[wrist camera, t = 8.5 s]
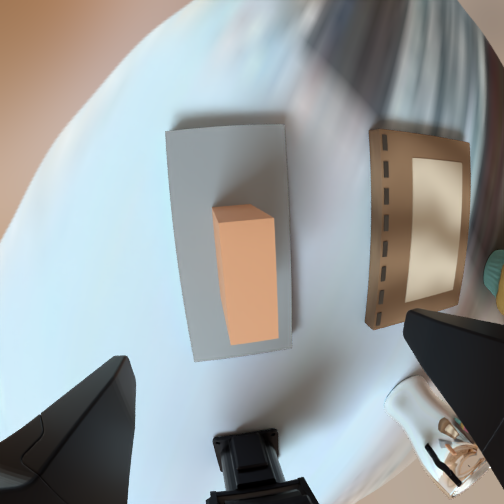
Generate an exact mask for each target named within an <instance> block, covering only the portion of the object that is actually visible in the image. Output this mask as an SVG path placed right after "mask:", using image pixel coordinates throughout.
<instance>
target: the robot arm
mask: <svg viewBox="0 0 504 504" xmlns="http://www.w3.org/2000/svg"><path fill="white" fill-rule="evenodd" d="M403 336H404V338H405V340H406V342H407V343H408V345H409V347H410V348H411V350H412V351H413V353H414V355H415V356H416V358H417V360H418V361H419V363H420V365H421V366H422V368H423V369H424V371H425V372H426V374H427V375H428V376H429V378H430V379H431V380H432V382H433V383H434V384H435V386H436V387H437V389H438V390H439V391H440V393H441V394H442V395H443V397H444V398H445V400H446V401H447V402H448V404H449V405H450V407H451V408H452V410H453V411H454V412H455V414H456V415H457V417H458V418H459V420H460V421H461V423H462V424H463V425H464V427H465V428H466V430H467V431H468V433H469V434H470V436H471V437H472V439H473V440H474V442H475V443H476V445H477V446H478V448H479V450H480V451H481V452H482V455H483V456H484V458H485V459H486V461H487V463H488V464H489V466H490V467H491V469H492V471H493V472H494V474H495V476H496V477H497V479H498V480H499V482H500V484H501V485H502V487H503V489H504V325H501V324H497V323H491V322H486V321H481V320H476V319H471V318H465V317H460V316H455V315H450V314H445V313H440V312H435V311H430V310H425V309H421V308H415V309H411V310H409V311H408V312H407V313H406V317H405V323H404V329H403ZM135 401H136V380H135V376H134V373H133V370H132V367H131V364H130V361H129V358H128V357H127V356H125V355H123V356H113V357H112V358H111V359H109V360H108V361H107V362H106V363H104V364H103V365H102V366H100V367H99V368H98V369H97V370H95V371H94V372H93V373H92V374H90V375H89V376H88V377H86V378H85V379H84V380H83V381H81V382H80V383H79V384H77V385H76V386H75V387H74V388H72V389H71V390H70V391H69V392H67V393H66V394H65V395H63V396H62V397H61V398H60V399H58V400H57V401H56V402H55V403H53V404H52V405H51V406H49V407H48V408H47V409H46V410H44V411H43V412H42V413H41V415H38V416H37V417H35V418H34V419H33V420H32V421H30V422H29V423H28V424H26V425H25V426H24V427H22V428H21V429H20V430H18V431H17V432H15V433H14V434H12V435H11V436H9V437H8V438H6V439H5V440H3V441H1V442H0V504H127V499H128V486H129V475H130V465H131V455H132V447H133V439H134V431H135ZM213 445H214V449H215V453H216V457H217V460H218V464H219V467H220V471H221V472H223V476H224V482H225V488H226V491H221V492H216V491H211V492H210V495H211V497H210V498H209V499H207V500H206V504H319V503H318V501H317V499H316V498H315V496H314V494H313V493H312V491H311V489H310V487H309V486H308V484H307V482H306V481H305V479H304V477H300V478H297V479H295V480H291V481H285V478H284V475H283V472H282V469H281V466H280V464H279V461H278V432H277V430H276V429H269V430H264V431H258V432H252V433H246V434H239V435H232V436H224V437H216V438H214V439H213Z"/></svg>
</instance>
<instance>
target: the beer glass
mask: <svg viewBox="0 0 504 504" xmlns="http://www.w3.org/2000/svg"><path fill="white" fill-rule="evenodd" d="M384 411H385V413H386V414H387V415H388V416H389V417H391V418H392V419H393V420H394V421H396V422H397V423H398V424H399V425H400V426H401V427H402V429H403V430H404V432H405V433H406V435H407V437H408V439H409V441H410V443H411V445H412V448H413V450H414V452H415V454H416V456H417V458H418V460H419V462H420V464H421V465H422V467H423V469H424V470H425V472H426V473H427V475H428V476H429V477H430V478H431V480H432V481H433V482H434V483H435V484H436V485H437V487H438V488H439V489H440V490H441V491H442V492H443V493H444V494H445V495H446V496H447V497H448V499H449V500H451V499H454V498H456V497H457V496H459V495H460V494H462V493H463V492H465V491H466V490H467V489H468V488H470V487H471V486H472V485H474V484H475V483H476V482H477V481H478V480H479V479H480V478H481V477H482V476H483V475H484V474H485V473H486V472H487V471H488V470H489V469H490V468H491V467H490V466H489V464H488V463H487V461H486V459H485V458H484V456H483V455H482V452H481V451H480V450H479V448H478V446H477V445H476V443H475V442H474V440H473V439H472V437H471V436H470V434H469V433H468V431H467V430H466V428H465V427H464V425H463V424H462V423H461V421H460V420H459V418H458V417H457V415H456V414H455V412H454V411H453V410H452V408H451V407H450V405H449V404H447V403H446V402H444V401H443V400H441V399H440V398H439V397H438V396H437V395H436V394H435V393H434V392H433V391H432V389H431V388H430V386H429V385H428V383H427V382H426V380H425V379H424V378H423V377H422V376H419V375H416V376H411V377H409V378H407V379H405V380H404V381H402V382H401V383H399V384H398V385H397V386H396V387H395V388H394V389H393V390H392V391H391V393H390V394H389V395H388V397H387V399H386V401H385V404H384Z"/></svg>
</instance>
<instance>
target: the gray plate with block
mask: <svg viewBox="0 0 504 504" xmlns="http://www.w3.org/2000/svg"><path fill="white" fill-rule="evenodd" d="M165 136H166V152H167V166H168V179H169V190H170V201H171V211H172V220H173V229H174V237H175V245H176V253H177V261H178V268H179V275H180V282H181V288H182V295H183V301H184V307H185V313H186V319H187V325H188V331H189V336H190V341H191V347H192V352H193V357H194V362H200V361H209V360H218V359H226V358H233V357H241V356H248V355H254V354H261V353H267V352H273V351H279V350H285V349H290V348H292V293H291V249H290V220H289V197H288V177H287V159H286V143H285V128H284V124H260V125H234V126H217V127H204V128H192V129H182V130H173V131H165Z"/></svg>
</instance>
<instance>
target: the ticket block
mask: <svg viewBox="0 0 504 504" xmlns="http://www.w3.org/2000/svg"><path fill="white" fill-rule="evenodd" d="M369 143H370V162H371V247H370V267H369V282H368V295H367V306H366V316H365V323H366V324H367V325H368V326H369V327H370V328H371V329H372V330H376V329H380V328H384V327H387V326H391V325H395V324H398V323H402V322H405V317H406V313H407V312H408V311H409V310H411V309H415V308H421V309H425V310H430V311H435V312H438V311H441V310H444V309H447V308H450V307H453V306H456V305H458V301H459V296H460V290H461V285H462V279H463V272H464V266H465V258H466V250H467V241H468V230H469V216H470V189H471V170H470V144H469V143H468V142H463V141H458V140H453V139H448V138H442V137H436V136H430V135H424V134H417V133H410V132H403V131H394V130H386V129H376V130H370V131H369Z"/></svg>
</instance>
